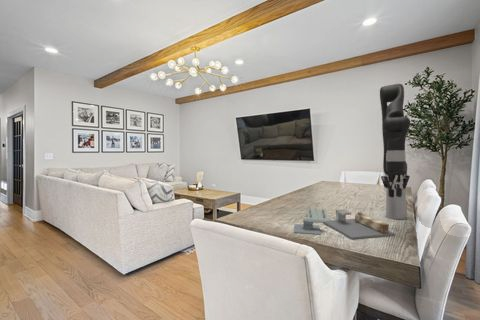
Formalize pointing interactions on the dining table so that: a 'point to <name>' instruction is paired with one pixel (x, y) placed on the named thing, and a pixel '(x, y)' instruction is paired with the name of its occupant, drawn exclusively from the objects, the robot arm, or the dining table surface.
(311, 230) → the shower valve
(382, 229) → the brass latch lever
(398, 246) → the dining table surface
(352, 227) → the base plate
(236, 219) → the dining table surface
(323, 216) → the metal bracket
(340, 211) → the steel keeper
